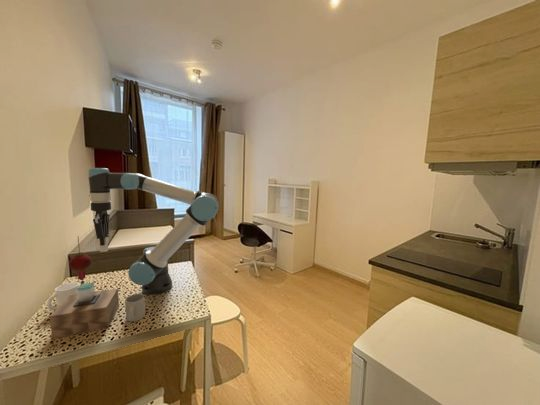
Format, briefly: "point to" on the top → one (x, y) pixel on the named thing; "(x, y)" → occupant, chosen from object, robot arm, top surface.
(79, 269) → the lantern
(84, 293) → the peg
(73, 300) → the socket block
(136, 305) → the cup
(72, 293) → the mug
